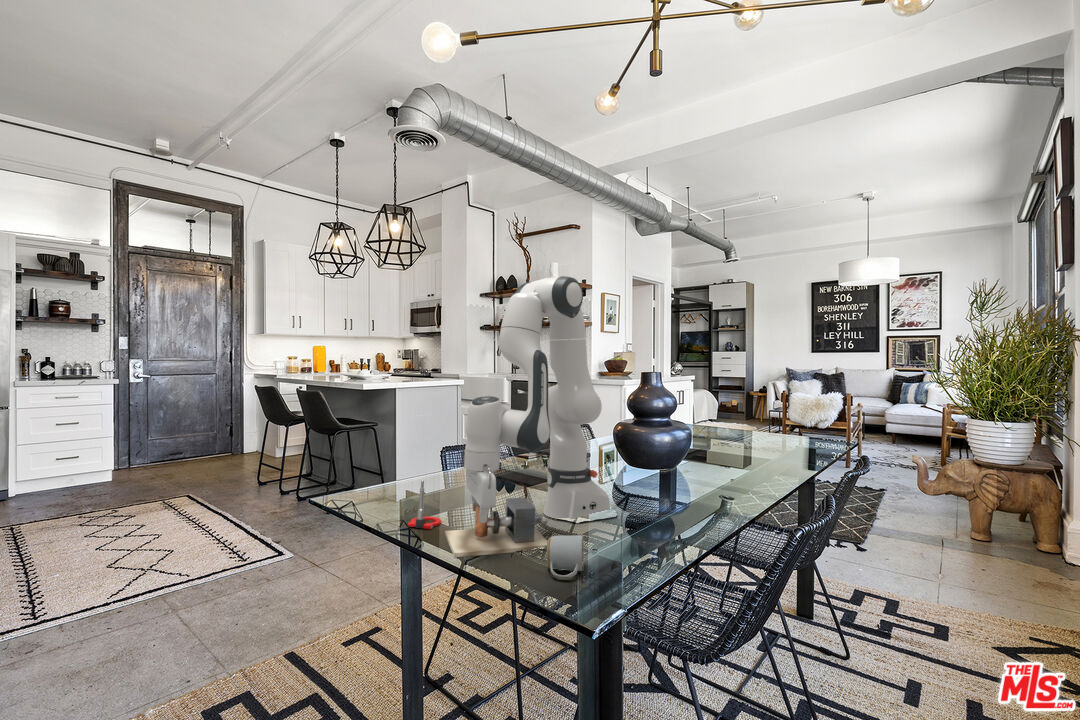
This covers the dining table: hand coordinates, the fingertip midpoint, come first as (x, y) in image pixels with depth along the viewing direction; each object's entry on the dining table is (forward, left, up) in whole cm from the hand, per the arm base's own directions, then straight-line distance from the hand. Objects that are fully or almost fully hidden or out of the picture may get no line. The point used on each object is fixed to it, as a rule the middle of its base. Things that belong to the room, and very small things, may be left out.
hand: (479, 516), depth 134 cm
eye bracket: (-11, 0, -7) cm, 13 cm away
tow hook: (+11, -18, -7) cm, 23 cm away
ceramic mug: (-15, +22, -7) cm, 27 cm away
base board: (-5, 0, -7) cm, 8 cm away
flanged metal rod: (-8, 0, -5) cm, 10 cm away
